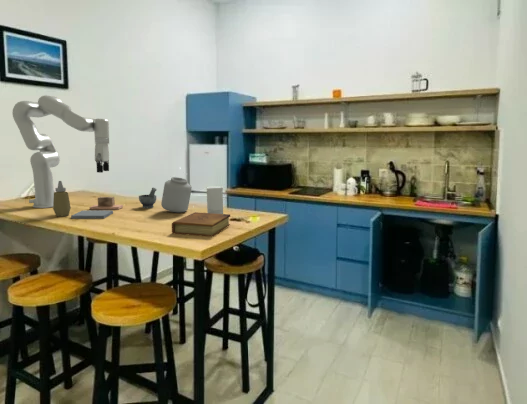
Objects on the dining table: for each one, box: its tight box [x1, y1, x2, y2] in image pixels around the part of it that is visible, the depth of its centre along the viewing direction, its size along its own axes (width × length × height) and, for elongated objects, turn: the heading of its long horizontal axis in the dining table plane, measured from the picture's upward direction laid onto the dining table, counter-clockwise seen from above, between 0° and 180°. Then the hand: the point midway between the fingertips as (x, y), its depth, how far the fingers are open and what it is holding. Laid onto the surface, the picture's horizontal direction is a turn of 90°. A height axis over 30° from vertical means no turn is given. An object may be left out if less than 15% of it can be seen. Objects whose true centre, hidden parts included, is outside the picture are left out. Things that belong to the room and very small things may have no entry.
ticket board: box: [70, 209, 114, 220], centre depth 201 cm, size 16×14×2 cm
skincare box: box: [206, 185, 224, 214], centre depth 204 cm, size 8×7×16 cm
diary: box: [171, 211, 231, 237], centre depth 176 cm, size 23×19×6 cm
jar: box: [160, 167, 194, 214], centre depth 214 cm, size 19×15×25 cm
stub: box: [89, 196, 124, 210], centre depth 222 cm, size 16×8×6 cm, turn 94°
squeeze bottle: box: [52, 180, 72, 217], centre depth 200 cm, size 8×8×18 cm
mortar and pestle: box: [138, 187, 158, 209], centre depth 227 cm, size 11×9×12 cm
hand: (103, 171), depth 221 cm, fingers open, 9 cm apart
